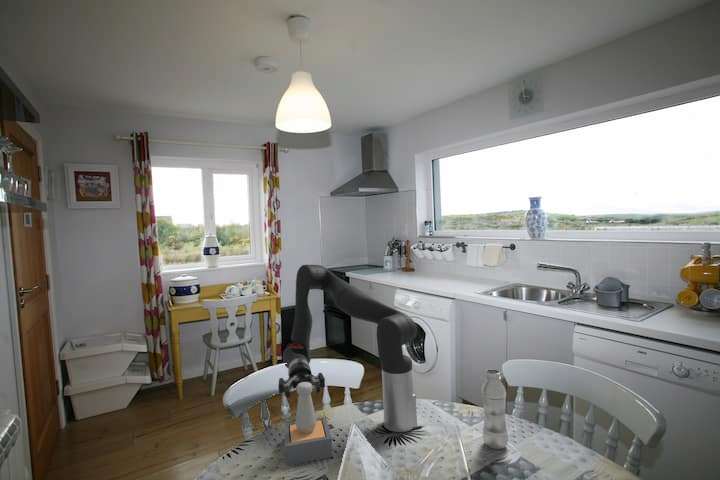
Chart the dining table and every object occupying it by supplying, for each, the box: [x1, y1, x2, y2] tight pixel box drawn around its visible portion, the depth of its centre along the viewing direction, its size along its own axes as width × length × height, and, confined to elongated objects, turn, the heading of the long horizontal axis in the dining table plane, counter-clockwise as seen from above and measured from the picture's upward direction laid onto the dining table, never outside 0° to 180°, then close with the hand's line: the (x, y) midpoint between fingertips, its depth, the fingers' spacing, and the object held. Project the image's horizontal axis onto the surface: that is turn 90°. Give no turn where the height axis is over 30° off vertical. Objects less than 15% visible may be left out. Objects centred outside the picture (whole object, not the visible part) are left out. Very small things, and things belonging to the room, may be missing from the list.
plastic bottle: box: [480, 368, 509, 450], centre depth 99 cm, size 6×7×20 cm
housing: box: [283, 416, 333, 466], centre depth 102 cm, size 12×12×5 cm
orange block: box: [290, 420, 325, 443], centre depth 102 cm, size 9×9×4 cm
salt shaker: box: [294, 382, 317, 434], centre depth 102 cm, size 6×6×13 cm
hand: (303, 392), depth 110 cm, fingers open, 8 cm apart
